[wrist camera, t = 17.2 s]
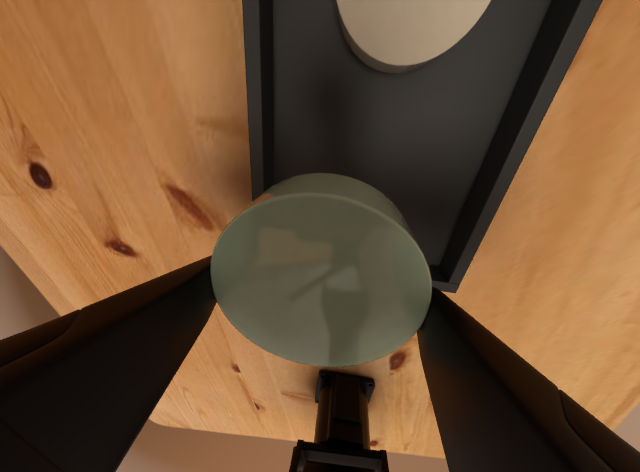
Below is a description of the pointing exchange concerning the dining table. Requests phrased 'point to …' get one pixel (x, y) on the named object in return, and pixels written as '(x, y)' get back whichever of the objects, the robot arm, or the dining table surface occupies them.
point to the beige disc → (405, 29)
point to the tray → (409, 113)
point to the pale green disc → (322, 272)
